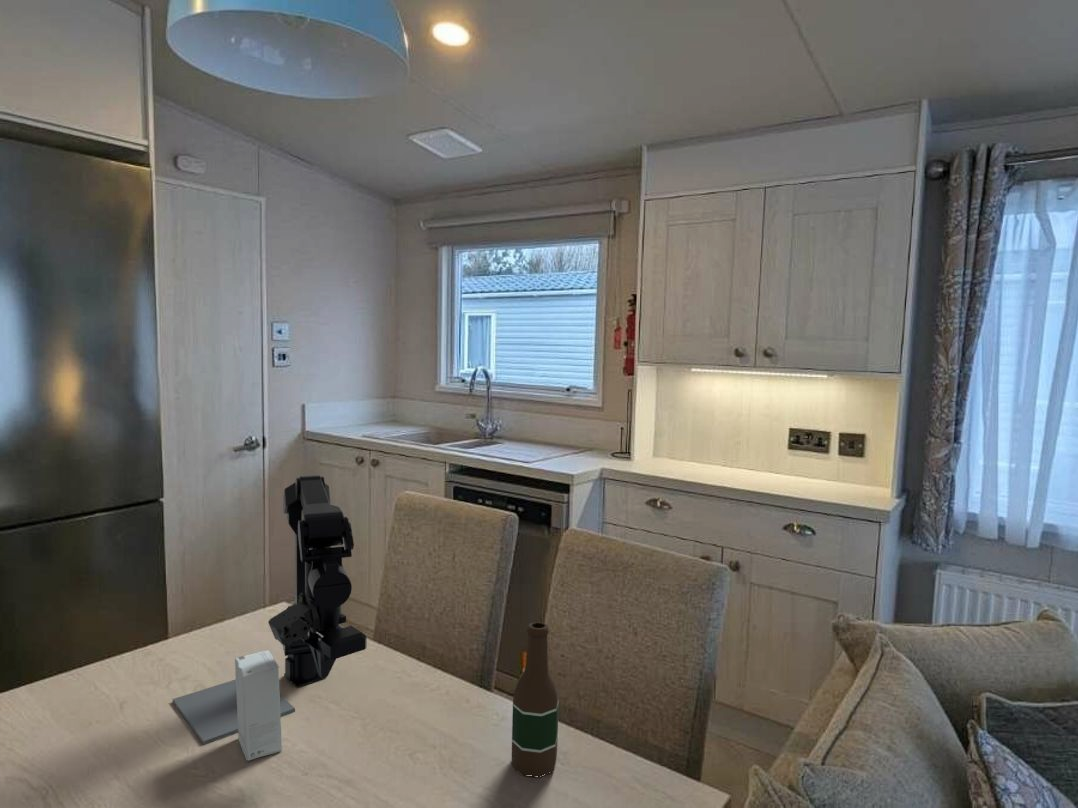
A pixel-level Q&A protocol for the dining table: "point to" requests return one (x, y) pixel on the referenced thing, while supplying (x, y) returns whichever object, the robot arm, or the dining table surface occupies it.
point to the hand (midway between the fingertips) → (323, 677)
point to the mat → (216, 711)
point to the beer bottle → (535, 709)
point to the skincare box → (258, 704)
